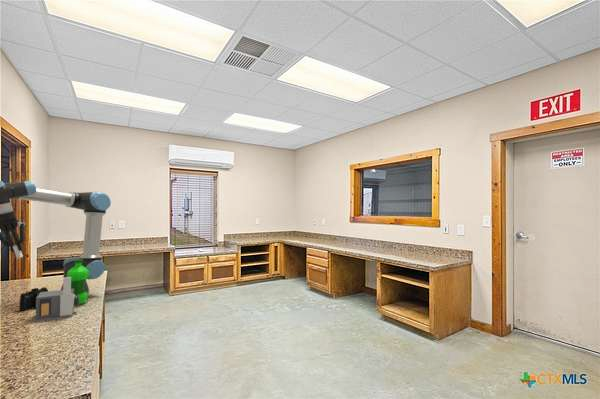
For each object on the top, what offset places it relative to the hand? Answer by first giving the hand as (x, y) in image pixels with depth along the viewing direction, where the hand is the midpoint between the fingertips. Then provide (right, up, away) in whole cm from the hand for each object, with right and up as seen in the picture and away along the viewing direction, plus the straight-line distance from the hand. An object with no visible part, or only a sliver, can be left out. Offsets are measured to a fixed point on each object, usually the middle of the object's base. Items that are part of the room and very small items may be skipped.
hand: (20, 257), depth 154 cm
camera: (-1, -30, +12) cm, 32 cm away
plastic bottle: (+16, -30, +18) cm, 38 cm away
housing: (+19, -29, 0) cm, 35 cm away
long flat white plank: (+26, -28, -3) cm, 38 cm away
